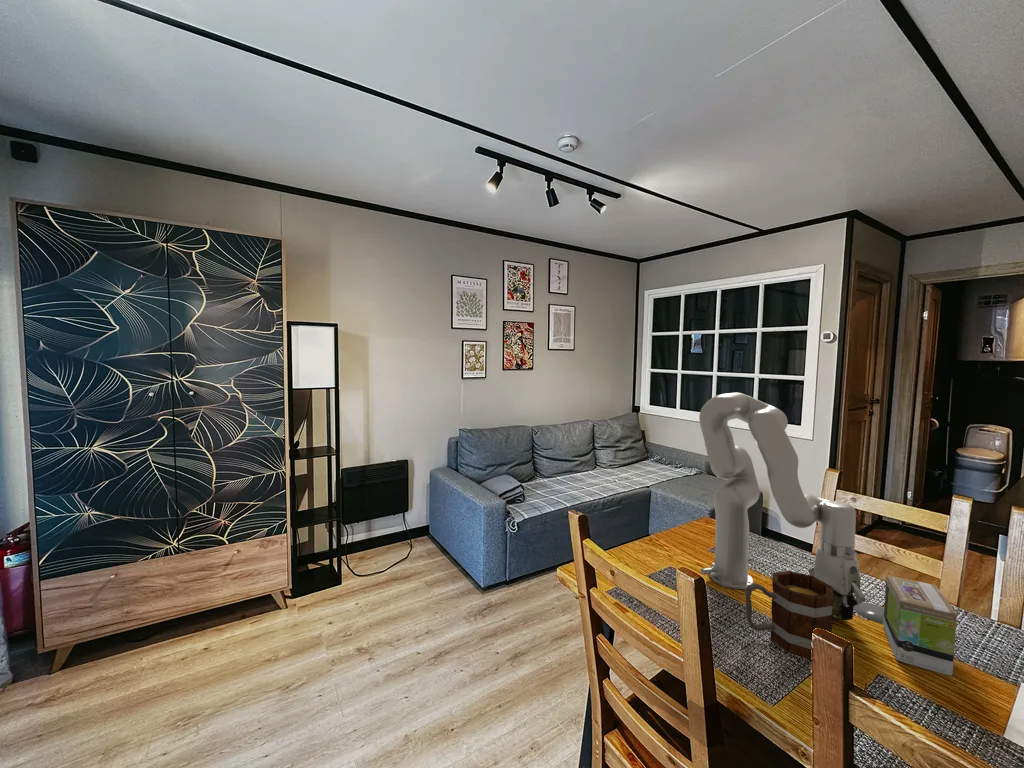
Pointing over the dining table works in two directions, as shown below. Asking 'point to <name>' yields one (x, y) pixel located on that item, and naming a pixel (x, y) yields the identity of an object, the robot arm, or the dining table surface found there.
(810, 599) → the mug
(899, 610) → the tea box
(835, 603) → the cup
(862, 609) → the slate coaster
